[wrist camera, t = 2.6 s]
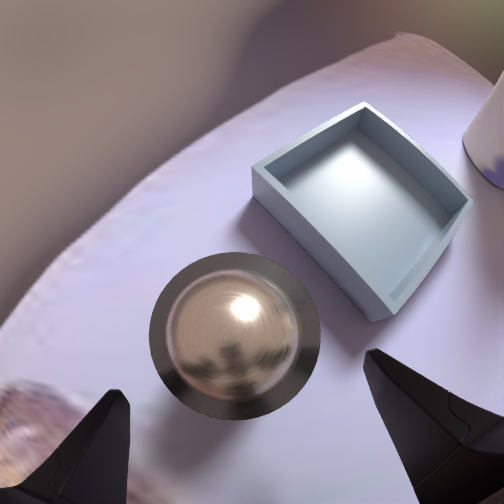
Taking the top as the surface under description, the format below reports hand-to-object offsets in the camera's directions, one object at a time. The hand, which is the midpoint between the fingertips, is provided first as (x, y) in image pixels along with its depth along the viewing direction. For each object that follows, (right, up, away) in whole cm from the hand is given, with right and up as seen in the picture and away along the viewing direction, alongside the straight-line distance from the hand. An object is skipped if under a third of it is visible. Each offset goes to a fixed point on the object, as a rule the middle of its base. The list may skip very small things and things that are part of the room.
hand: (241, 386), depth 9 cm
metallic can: (0, -2, +10) cm, 10 cm away
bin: (+10, +8, +14) cm, 19 cm away
